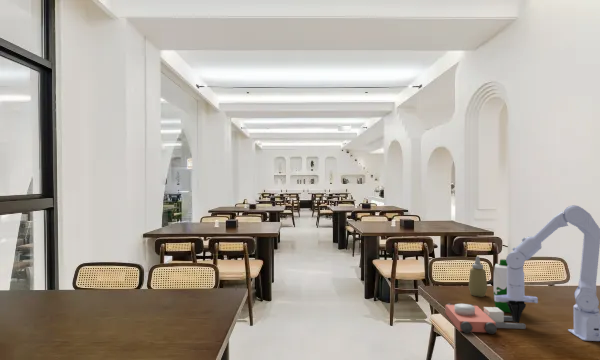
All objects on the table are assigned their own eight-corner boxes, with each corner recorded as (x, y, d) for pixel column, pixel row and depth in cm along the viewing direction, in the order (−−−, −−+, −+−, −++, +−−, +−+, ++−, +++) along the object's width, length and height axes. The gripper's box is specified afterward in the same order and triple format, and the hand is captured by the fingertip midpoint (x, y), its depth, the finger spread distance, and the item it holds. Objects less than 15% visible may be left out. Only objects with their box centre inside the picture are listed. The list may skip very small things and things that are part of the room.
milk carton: (517, 308, 167) (517, 260, 168) (517, 314, 159) (517, 263, 160) (494, 305, 171) (493, 258, 172) (493, 311, 163) (493, 261, 164)
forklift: (534, 335, 136) (534, 318, 136) (460, 332, 139) (460, 315, 139) (507, 314, 159) (507, 299, 159) (444, 312, 162) (444, 297, 162)
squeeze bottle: (464, 294, 190) (464, 255, 190) (477, 292, 193) (476, 254, 193) (478, 298, 182) (478, 258, 183) (491, 296, 186) (491, 257, 186)
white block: (503, 326, 145) (503, 312, 145) (481, 325, 146) (481, 311, 146) (497, 320, 151) (497, 307, 151) (476, 319, 152) (476, 306, 152)
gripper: (531, 282, 151) (531, 318, 151) (491, 281, 153) (491, 317, 153) (540, 287, 144) (540, 325, 144) (498, 285, 146) (498, 323, 146)
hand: (515, 321), depth 148 cm, fingers closed
